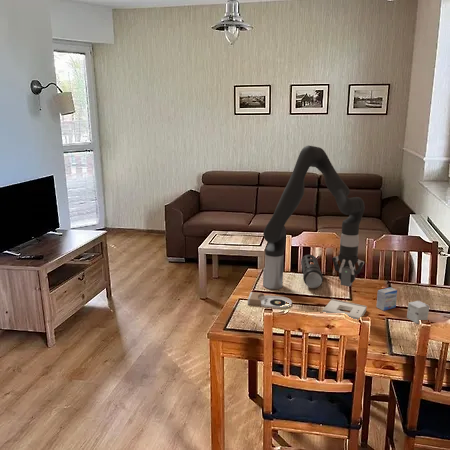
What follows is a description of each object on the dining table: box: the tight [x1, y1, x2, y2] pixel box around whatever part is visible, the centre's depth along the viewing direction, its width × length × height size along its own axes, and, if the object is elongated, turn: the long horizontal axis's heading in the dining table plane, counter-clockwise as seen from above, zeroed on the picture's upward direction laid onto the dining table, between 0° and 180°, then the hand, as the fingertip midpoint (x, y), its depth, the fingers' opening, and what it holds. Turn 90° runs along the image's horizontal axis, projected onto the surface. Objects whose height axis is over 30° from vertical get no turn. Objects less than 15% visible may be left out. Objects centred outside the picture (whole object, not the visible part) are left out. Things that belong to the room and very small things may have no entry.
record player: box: [247, 291, 293, 309], centre depth 211 cm, size 12×3×20 cm
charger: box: [340, 266, 353, 287], centre depth 196 cm, size 4×4×8 cm
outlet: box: [321, 298, 368, 320], centre depth 200 cm, size 16×14×2 cm
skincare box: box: [406, 300, 430, 324], centre depth 193 cm, size 6×6×7 cm
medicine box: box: [376, 286, 398, 312], centre depth 204 cm, size 8×4×9 cm, turn 117°
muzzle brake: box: [300, 254, 324, 289], centre depth 237 cm, size 10×28×10 cm, turn 174°
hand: (346, 281), depth 196 cm, fingers closed on charger, 4 cm apart
